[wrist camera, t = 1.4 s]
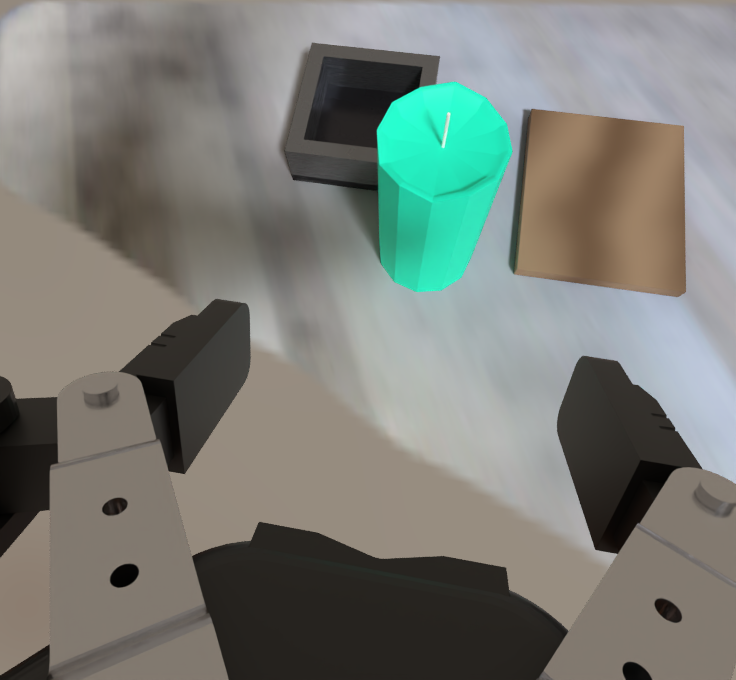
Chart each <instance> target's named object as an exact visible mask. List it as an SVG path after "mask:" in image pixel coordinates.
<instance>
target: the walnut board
mask: <svg viewBox="0 0 736 680" xmlns="http://www.w3.org/2000/svg"><path fill="white" fill-rule="evenodd" d="M514 274H516V275H524V276H531V277H538V278H545V279H552V280H559V281H567V282H574V283H581V284H588V285H595V286H603V287H610V288H617V289H624V290H631V291H639V292H646V293H653V294H660V295H667V296H674V297H679V296H680V295H682V294H684V293H685V292H686V266H685V185H684V126H679V125H670V124H661V123H652V122H643V121H634V120H625V119H617V118H608V117H599V116H590V115H581V114H572V113H563V112H554V111H545V110H536V109H532V110H531V112H530V115H529V117H528V128H527V139H526V149H525V160H524V171H523V182H522V192H521V203H520V214H519V225H518V235H517V246H516V257H515V268H514Z"/></svg>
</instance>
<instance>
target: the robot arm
mask: <svg viewBox="0 0 736 680" xmlns="http://www.w3.org/2000/svg"><path fill="white" fill-rule="evenodd" d="M249 368H250V314H249V308H248V305H247V304H246V303H240V302H233V301H227V300H220V299H215V300H214V301H212V302H211V303H210V304H209V305H208V306H207V307H206V308H205V309H204V310H203V311H202V312H201V313H200V314H199V315H198V316H196V315H190V316H188V317H186V318H183V319H181V320H179V321H176V322H174V323H173V324H171V325H170V326H169V327H168V328H167V329H166V330H165V331H164V332H163V333H161V336H158V337H157V338H156V339H155V340H154V341H153V342H151V345H148V346H147V347H146V348H145V349H144V350H143V351H142V352H140V353H139V354H138V355H137V356H136V357H135V358H134V359H133V360H131V361H130V362H129V363H128V364H127V365H126V366H125V367H124V368H123V369H122V370H120V371H119V372H101V373H95V374H91V375H88V376H84V377H82V378H79V379H77V380H75V381H73V382H71V383H70V384H68V385H67V386H66V387H65V388H63V389H62V391H61V392H60V393H59V395H58V397H51V398H26V399H16V398H15V395H14V392H13V389H12V386H11V383H10V382H9V381H8V380H7V379H6V378H4V377H1V376H0V557H1V556H2V555H3V554H4V553H5V552H6V550H7V549H8V548H9V547H10V545H11V544H12V543H13V542H14V541H15V540H16V539H17V537H18V536H19V535H20V534H21V533H22V532H23V530H24V529H25V528H26V527H27V526H28V524H29V523H30V522H31V521H32V520H33V519H34V517H35V516H36V515H37V514H38V513H39V512H40V511H44V510H50V644H49V645H48V646H46V647H45V648H43V649H42V650H40V651H38V652H37V653H35V654H34V655H32V656H30V657H29V658H27V659H26V660H24V661H23V662H21V663H20V664H18V665H17V666H15V667H13V668H11V669H10V670H8V671H7V672H5V673H4V674H2V675H0V680H731V678H732V675H733V671H734V668H735V664H736V484H735V483H733V482H731V481H730V480H728V479H726V478H724V477H722V476H720V475H718V474H715V473H712V472H710V471H707V470H703V469H702V467H701V466H700V464H699V463H698V461H697V460H696V458H695V457H694V455H693V454H692V452H691V451H690V449H689V448H688V447H687V445H686V444H685V442H684V441H683V439H682V438H681V436H680V435H679V433H678V432H677V431H675V427H674V426H673V424H672V423H671V421H670V420H669V418H666V416H667V415H666V414H665V412H664V411H663V409H662V408H661V406H660V405H659V403H658V402H657V400H656V399H655V398H653V397H652V396H651V395H650V394H648V393H647V392H646V391H645V390H643V389H642V388H641V387H640V386H638V385H633V384H632V383H631V381H630V379H629V378H628V376H627V375H626V373H625V371H624V370H623V368H622V367H621V365H620V364H619V362H617V361H614V360H607V359H601V358H594V357H588V356H582V357H581V358H580V359H579V360H578V362H577V364H576V366H575V369H574V372H573V374H572V377H571V380H570V383H569V385H568V388H567V391H566V393H565V396H564V399H563V401H562V404H561V407H560V410H559V414H558V420H557V432H558V436H559V440H560V443H561V446H562V449H563V452H564V455H565V458H566V461H567V464H568V467H569V470H570V473H571V476H572V480H573V483H574V486H575V489H576V492H577V495H578V498H579V501H580V504H581V507H582V510H583V513H584V516H585V519H586V523H587V526H588V529H589V532H590V535H591V538H592V541H593V544H594V547H595V550H599V551H605V552H610V553H616V554H618V555H617V556H616V558H615V560H614V561H613V563H612V564H611V566H610V567H609V569H608V570H607V572H606V574H605V575H604V577H603V578H602V580H601V582H600V583H599V585H598V586H597V588H596V590H595V591H594V593H593V594H592V596H591V597H590V599H589V600H588V602H587V604H586V605H585V607H584V608H583V610H582V611H581V613H580V614H579V616H578V618H577V619H576V621H575V622H574V624H573V625H572V627H571V629H570V630H569V631H568V630H567V629H566V628H565V627H564V626H562V624H561V623H559V622H558V621H557V620H556V619H555V618H553V617H552V616H551V615H550V614H549V613H547V612H546V611H544V610H543V609H542V608H540V607H539V606H537V605H536V604H534V603H533V602H531V601H529V600H528V599H526V598H524V597H522V596H520V595H519V594H517V593H515V592H512V591H510V590H509V587H508V579H507V571H506V568H505V567H499V566H494V565H488V564H483V563H478V562H472V561H466V560H462V559H456V558H451V557H445V556H437V557H416V558H394V559H379V558H375V557H372V556H370V555H367V554H365V553H363V552H360V551H358V550H356V549H354V548H351V547H349V546H346V545H345V544H342V543H340V542H338V541H335V540H333V539H331V538H328V537H326V536H324V535H322V534H319V533H316V532H310V531H305V530H300V529H294V528H289V527H284V526H279V525H273V524H268V523H262V522H259V523H258V525H257V528H256V530H255V533H254V535H253V537H252V540H251V541H244V542H237V543H230V544H225V545H222V546H218V547H214V548H211V549H208V550H205V551H203V552H200V553H198V554H195V555H193V556H192V555H191V552H190V548H189V544H188V541H187V537H186V533H185V530H184V526H183V522H182V519H181V515H180V511H179V508H178V504H177V500H176V497H175V493H174V489H173V486H172V482H171V478H170V475H169V471H170V472H176V473H182V474H185V473H186V471H187V470H188V468H189V467H190V465H191V464H192V462H193V460H194V459H195V457H196V456H197V454H198V453H199V451H200V450H201V448H202V447H203V445H204V443H205V442H206V441H207V439H208V438H209V436H210V435H211V433H212V431H213V430H214V429H215V427H216V425H217V424H218V422H219V421H220V419H221V418H222V416H223V415H224V413H225V412H226V410H227V409H228V407H229V406H230V404H231V403H232V401H233V400H234V398H235V396H236V395H237V393H238V392H239V390H240V389H241V387H242V386H243V384H244V383H245V380H246V378H247V376H248V372H249Z"/></svg>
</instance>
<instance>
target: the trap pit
mask: <svg viewBox="0 0 736 680" xmlns="http://www.w3.org/2000/svg"><path fill="white" fill-rule="evenodd" d="M439 60H440V56H432V55H422V54H413V53H403V52H394V51H384V50H375V49H365V48H356V47H347V46H337V45H328V44H318V43H312V45H311V49H310V53H309V57H308V61H307V65H306V69H305V73H304V76H303V80H302V84H301V88H300V92H299V96H298V100H297V104H296V108H295V112H294V116H293V120H292V124H291V128H290V132H289V136H288V140H287V144H286V148H285V154H286V157H287V160H288V164H289V167H290V170H291V173H292V177H293V180H299V181H306V182H314V183H322V184H330V185H337V186H345V187H353V188H361V189H369V190H376V191H378V160H377V129H378V127H379V125H380V123H381V121H382V120H383V118H384V116H385V114H386V112H387V111H388V109H389V107H390V105H391V103H392V102H393V101H395V100H397V99H399V98H401V97H403V96H405V95H407V94H408V93H410V92H412V91H414V90H416V89H418V88H420V87H424V86H430V85H436V83H437V75H438V67H439Z"/></svg>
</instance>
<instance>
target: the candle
mask: <svg viewBox="0 0 736 680" xmlns="http://www.w3.org/2000/svg"><path fill="white" fill-rule="evenodd" d="M512 152H513V151H512V147H511V142H510V137H509V132H508V127H507V124H506V122H505V121H504V120H503V119H502V117H501V116H500V115H499V114H498V112H497V111H496V110H495V108H494V107H493V106H492V105H491V103H490V102H489V101H488V100H487V98H485V97H483V96H482V95H480V94H478V93H476V92H474V91H472V90H470V89H468V88H466V87H465V86H463V85H461V84H459V83H457V82H449V83H443V84H437V85H430V86H424V87H420V88H418V89H416V90H414V91H412V92H410V93H408V94H407V95H405V96H403V97H401V98H399V99H397V100H395V101H393V102H392V103H391V105H390V107H389V109H388V111H387V112H386V114H385V116H384V118H383V120H382V121H381V123H380V125H379V127H378V129H377V160H378V207H379V245H380V259H381V264H382V266H383V267H384V269H385V270H386V271H387V273H388V274H389V275H390V277H391V278H392V279H393V281H394V282H395V283H398V284H400V285H402V286H404V287H407V288H409V289H411V290H413V291H416V292H424V291H439V290H443V289H444V288H446V287H447V286H449V285H450V284H452V283H454V282H455V281H457V280H458V279H460V278H461V277H462V275H463V273H464V271H465V269H466V267H467V265H468V263H469V261H470V259H471V256H472V254H473V251H474V249H475V246H476V244H477V241H478V239H479V236H480V233H481V231H482V228H483V226H484V223H485V221H486V218H487V216H488V213H489V211H490V208H491V205H492V203H493V200H494V198H495V195H496V193H497V190H498V188H499V185H500V183H501V180H502V177H503V175H504V172H505V170H506V167H507V165H508V162H509V160H510V157H511V155H512Z"/></svg>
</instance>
